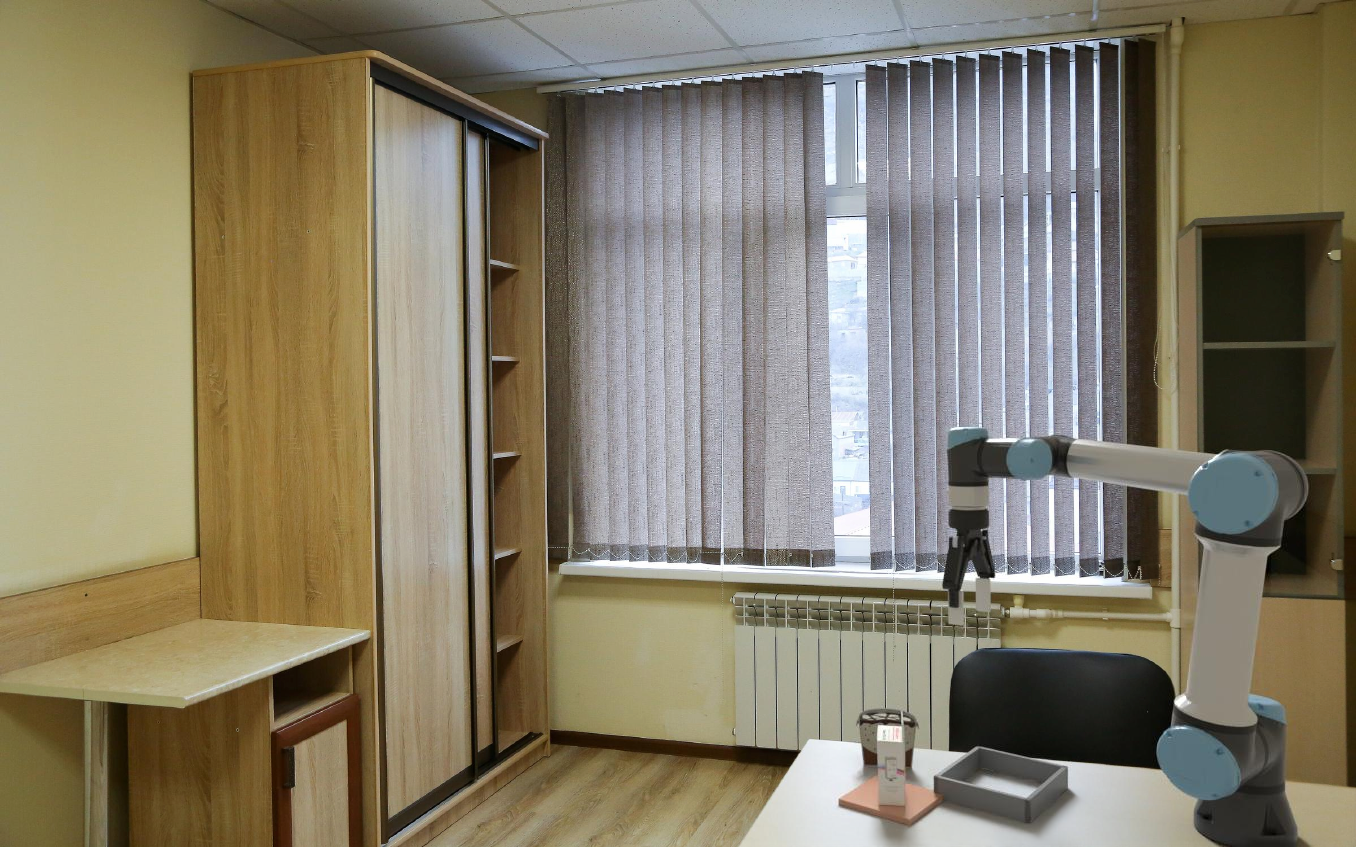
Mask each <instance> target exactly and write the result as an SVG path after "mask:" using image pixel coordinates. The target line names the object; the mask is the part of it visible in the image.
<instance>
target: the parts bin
mask: <svg viewBox="0 0 1356 847" xmlns="http://www.w3.org/2000/svg"><path fill="white" fill-rule="evenodd" d="M979 769H982V770H987V771H991V772H994V773H995V772H996V773H998V774H1003V775H1007V776H1012V777H1015V778H1020V779H1023V780H1028V781H1031V782H1036V783H1041V785H1039V786H1038V787H1037V788H1036V789H1035V790H1034V791H1033V792H1031V793H1030V794H1029V795H1028V796H1027V797H1024V796H1020V795H1016V794H1013V793H1008V792H1004V791H1000V790H996V789H991V788H988V787H985V786H982V785H977V784H974V783H973V784H972V783H969V782H965V781H964V780H966V779H967V778H968V777H970V776H971V775H972V774H974V773H975V772H976V771H978V770H979ZM1068 788H1069V767H1068V766H1067V765H1063V764H1059V763H1054V762H1049V761H1046V760H1042V759H1041V760H1040V759H1037V758H1033V757H1028V756H1023V755H1019V754H1015V753H1011V752H1010V753H1009V752H1006V751H1001V750H996V749H993V748H989V747H984V746H980V745H977V746H975V747H973V748H972V749H971V750H969V751H968V752H966V753H965V754H963V755H962V756H961V757H960V758H958V759H956V760H955V761H953V762H952V763H950V764H949V765H948V766H946V767H945V768H943V769H941V771H939V772H938V773H935V775H933V790H934V793H938V794H942V795H943V802H944V801H945V802H949V803H952V804H955V805H959V806H963V807H966V808H971V809H975V810H977V811H981V812H984V813H988V814H993V815H996V816H999V817H1003V818H1007V819H1011V820H1013V821H1014V820H1015V821H1019V822H1022V823H1025V824H1031V823H1032V822H1033V821H1034V820H1035V819H1036V818H1037V817H1038V816H1039V815H1041V813H1042V812H1043V811H1045V810H1046V809H1047V808H1048V807H1049V806H1050V805H1051V804H1052V803H1054V801H1055V800H1057V799H1058V798H1059V797H1060V796H1061V795H1062V794H1063V793H1064V792H1065V791H1066V790H1067V789H1068Z"/></svg>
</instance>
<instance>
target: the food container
mask: <svg viewBox="0 0 1356 847" xmlns="http://www.w3.org/2000/svg"><path fill="white" fill-rule="evenodd" d="M901 711H902V712H903V722H904V738H905V769H913V760H914V758H913V757H914V750H915V740H916V730H920V727H919V721H918V718H917V717H916V715H914V714H913V713H911V712H908V711H905V710H901V709H895V708H884V707H883V708H881V707H880V708H879V707H878V708H871V709H865V710H864V711H862V712H860V713H859V714H858V717H857V719H856V724H855V727H857V726H859V727H858V728H859V729H858V730H859V737H860V744H861V745H860V746H861V753H862V763H863V767H872V768H873V767H876V768H878V759H877V729H878V725H884V726H902V723H901V720H902V717H901Z"/></svg>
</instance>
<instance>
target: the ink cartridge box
mask: <svg viewBox="0 0 1356 847" xmlns="http://www.w3.org/2000/svg"><path fill="white" fill-rule="evenodd" d="M902 711H903V710H902ZM902 711H901V717H902V720H901V723H902V726H884V725H878V729H877V759H878V767H877V775H878V790H879V805H892V806H905V783H906V768H905V738H904V722H903V712H902Z"/></svg>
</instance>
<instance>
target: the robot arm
mask: <svg viewBox="0 0 1356 847" xmlns="http://www.w3.org/2000/svg"><path fill="white" fill-rule="evenodd" d="M946 447H947V448H946V455H947V457H946V458H947V459H946V460H947V472H948V473H947V475H948V479H947V483H948V484H947V486H948V487H947V488H948V489H946V492H945V493H946V494H947V496H948V498H947V499H948V500H947V501H948V505H949V507H950V508H949V509H948V512H947V513H948V527H949V528H951V529H954V530H955V531H956V535H955V536H954V535H949V537H948V550H947V556H946V562H945V566H944V571H943V577H942V582H941V583H942V584H941V585H942V590H947V606H948V607H947V611H948V612H947V613H948V614H947V616H948V623H947V624H948V625H954V626H964V625H965V614H964V613H965V612H964V611H965V610H964V607H965V606H964V605H965V604H964V600H965V599H964V595H965V594H964V589H962V587H963V582H964V579H965V576H966V573H967V569H968V565H969V562H970V561H972V565H973V567H974V570H975V573H976V576H977V577H975V611H977V612H982V613H985V612H986V613H991V611H992V608H991V604H992V603H991V602H992V601H991V599H992V598H991V596H992V595H991V579H995V578H996V572H995V571H996V569H995V565H994V564H995V563H994V559H993V555H992V551H991V549H992V548H991V545H990V541H989V539H990V538H989V530H988V528H989V527H990V510H989V509H988V508H987V507H988V506H989V505H990V488H989V486H990V485H989V481H990V480H989V479H993V478H996V479H1009V480H1020V481H1033V480H1034V481H1037V480H1043V479H1044V478H1045V477H1046V476H1057V477H1061V478H1062V477H1063V478H1071V479H1077V480H1078V479H1081V480H1086V481H1090V482H1091V481H1092V482H1099V483H1104V484H1105V483H1107V484H1112V485H1118V486H1126V487H1132V488H1139V489H1143V490H1152V491H1159V492H1164V493H1171V494H1177V495H1184V496H1187V503H1188V506H1189V509H1190V511H1191V513H1193V515H1194V517H1195V518H1196V519H1195V525H1194V526H1195V527H1194V536H1195V537H1196V538H1197V539H1198V540H1199V542H1200V543H1201V544H1202V546H1203V550H1202V552H1203V554H1202V560H1201V567H1200V576H1199V586H1198V594H1197V602H1196V609H1195V610H1196V611H1195V618H1194V625H1193V635H1192V640H1191V648H1190V649H1191V650H1190V658H1189V664H1188V665H1189V666H1188V674H1187V682H1186V691H1185V692H1183V693H1182V694H1180V695H1177V696H1176V697H1175V698H1174V700H1173V709H1172V715H1171V721H1170V722H1171V723H1170V724H1171V725H1170V727H1168V728H1167V729H1166V730H1164V731H1163V733H1162V735H1161V736H1160V737H1159V740H1158V742H1157V746H1156V757H1157V762H1158V765H1159V767H1160V769H1161V771H1162V772H1163V774H1164V775H1165V776H1166V777H1167V778H1168V780H1169V782H1170V783H1171V784H1172V786H1174V787H1175V788H1177V790H1179V791H1180V792H1182V793H1183V794H1185V795H1187V796H1189V797H1192V798H1195V799H1197V800H1196V803H1195V805H1194V807H1193V826H1194V827H1195V829H1196V830H1197V831H1198V832H1200V833H1201V834H1202V835H1203V836H1205V837H1207V838H1208V839H1210V840H1213V841H1214V842H1217V843H1220V844H1223V845H1225V846H1229V847H1296V846H1297V845H1298V841H1299V839H1298V838H1299V832H1298V831H1299V829H1298V825H1297V822H1296V820H1295V817H1294V814H1293V811H1292V809H1291V805H1290V803H1289V800H1288V797H1287V793H1286V764H1287V763H1286V762H1287V760H1286V755H1287V753H1286V752H1287V751H1286V749H1287V748H1286V746H1287V743H1286V742H1287V740H1286V739H1287V727H1288V722H1287V721H1286V710H1285V707H1284V706H1283V705H1282V703H1280V702H1279V701H1277V700H1274V699H1272V698H1269V697H1265V696H1261V695H1258V694H1253V693H1250V691H1251V684H1252V676H1253V669H1254V660H1255V653H1256V652H1255V651H1256V646H1257V638H1258V631H1259V630H1258V629H1259V623H1260V614H1261V608H1262V598H1263V593H1264V585H1265V584H1264V583H1265V578H1266V577H1265V575H1266V569H1267V563H1268V557H1269V556H1270V554H1272V553H1274V552H1275V551H1277V550H1278V549H1279V548H1281V546H1282V538H1283V530H1284V522H1285V521H1286V520H1288V519H1291V518H1292V517H1294V516H1295V515H1296V514H1298V512H1299V511H1300V510H1301V509H1302V508H1303V507H1304V505H1305V503H1306V501H1307V499H1308V498H1307V497H1308V495H1309V482H1308V476H1307V475H1306V473H1305V471H1304V470H1303V468H1302V466H1301V465H1300V464H1299V463H1298V462H1297V461H1296V460H1295V459H1294V458H1292V457H1291V456H1288V455H1286V454H1284V453H1282V452H1279V451H1275V450H1267V449H1263V450H1261V449H1260V450H1252V451H1251V450H1234V449H1225V450H1222V451H1221V452H1220V453H1218V454H1215V453H1208V452H1200V451H1199V452H1198V451H1190V450H1189V451H1188V450H1180V449H1173V448H1164V447H1163V448H1162V447H1156V446H1154V447H1153V446H1147V445H1146V446H1145V445H1137V444H1129V443H1127V444H1126V443H1120V442H1111V441H1102V440H1095V439H1094V440H1093V439H1085V438H1076V437H1072V436H1069V435H1065V434H1050V435H1045V436H1030V437H1029V436H1028V437H1027V436H1026V437H1012V438H1009V437H1000V438H999V437H997V438H995V437H989V430H988V429H987V428H986V427H981V426H978V427H977V426H971V427H970V426H966V427H965V426H961V427H960V426H959V427H953V428H951V429H948V432H947V446H946Z"/></svg>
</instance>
